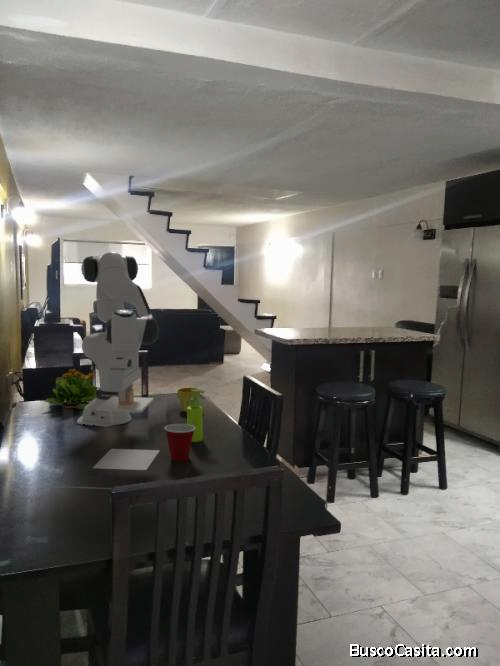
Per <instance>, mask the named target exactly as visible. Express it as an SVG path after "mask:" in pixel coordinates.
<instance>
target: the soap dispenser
mask: <svg viewBox="0 0 500 666" xmlns="http://www.w3.org/2000/svg"><path fill="white" fill-rule="evenodd" d="M198 389H199V388H197V389H194V390H191V392H193V397H192V398H191V399H190V406H189V407H187V412H186V416H187V417H186V419H187V420H186V423H187V424H188V425H193V426H195V427H196V429H195V431H194V434H193V437H192V442H191V443H199V442H203V440H204V439H203V437H204V436H203V433H204V432H203V431H204V429H203V426H204V425H203V423H204V422H203V420H204V419H203V418H204V417H203V414H204V413H203V411H204V410H203V408H204V407H203V406H202V405H200V397H199V398H198V397H197V392H200V394H204V393H205V392H206V390H203V389H199V390H198Z"/></svg>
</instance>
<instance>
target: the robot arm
mask: <svg viewBox="0 0 500 666" xmlns="http://www.w3.org/2000/svg"><path fill="white" fill-rule="evenodd" d="M80 271H81V274H82V277H83V279H84V280H85V281H87V282H89V283H96V291H95V292H96V293H95V294H96V297H95V298H96V311H97V312H96V315H97V318H98V320H100V321H101V322H103V323H105V324H104V327H105V331H103V332H102V331H101V332H95V333H91V334H88V335H86V336H85V337H84V338H83V339H82V343H81V351H82V353H83V354H84V356H86V357H87V358H88V359H90V360H91V361H92V362H93V363H94V364H95V366H96V367H97V370H98V375H99V388H98V390H97V391H96V392H95V395H96V396H97V397H96V398H95V399H94V400H92V401H89V404H88V405H86V406H85V407H84V408H83V409H82V410H83V411H82V415H81V416H80V417H78V418H77V420H76V423H77V425H83V424H85V425H86V426H93V425H95V427H105V428H108V427H109V428H110V427H112V426H117V425H122V424H123V425H124V424H126V423H129V422H130V421H132V417H131V412H112V411H97V410H96V408H98V407H99V406H100V405H102V404H103V403H104V402H106V401H107V400H108V399H110V398H111V397H112V396H114V397H118V392H119V395H120V401H125V400H126V399H127V398H126V397H127V395H126V393H125V391H126V389H133V387H134V383H135V382H136V381H137V380H139V378H140V366H139V365H140V363H139V362H140V361H139V358H140V357H139V352H140V351H139V350H140V349H141V345H144V346H145V345H146V346H151V345H153V343H155V342H156V341H157V340H158V338H159V337H160V336H159V335H160V329H159V325H158V321H157V320H156V318H155V316H154V315H153V313H152V311H151V308H150V306H149V303H148V301H147V299H146V297H145V296H146V295H145V294H144V292H143V290H142V288H141V286H139V285H138V284H136V283H135V282H134V280H135V279H136V278H137V276H138V272H139V265H138V262H137V259H136V258H135V257H134V256H130V255H127V254H126V255H122V254H120V253H118V252H115V251H109V252H106V253H103V255H97V256H96V255H95V256H93V255H90V256H86V257H85V258H84V259H83V261H82V264H81V268H80ZM124 303H128V304H129V305H132V306H133V307H135V310H136V312H135V311H133V310H130V309H125V304H124ZM136 313H137V314H136ZM137 315H138V317H137Z"/></svg>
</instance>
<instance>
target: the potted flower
mask: <svg viewBox="0 0 500 666" xmlns="http://www.w3.org/2000/svg"><path fill="white" fill-rule="evenodd" d="M94 377H95V373H93V372H89V373H88V374H87V375H85V374H83V373H82V372H81V371H78V370H76V369H75V368H73V369H68V372H65V373H64V374H62V376H58V377H56V379H54V380H55V388H53V389H52V392H53V394H54V395H55V396H56V398H55V397H50V398H46V399H45V400H44V402H45V403H48V404H56V405H61V406H63V407H65V408H64V409H66V408H76V409H77V410H84V408H85V406H86V405H88V404H89V403H90V402H91V401H92V400H94V399H95V398H96V397H97V396H96V395H95V392H96V391H97V390H98V389H99V388H98V387H97V386H95V385H94V384H92V383H93V379H94ZM63 407H62V408H63Z"/></svg>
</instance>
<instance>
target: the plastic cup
mask: <svg viewBox="0 0 500 666" xmlns="http://www.w3.org/2000/svg"><path fill="white" fill-rule="evenodd" d="M195 429H196V427H195V426H193V425H188V424H186V423H174V424H173V423H171V424H168V425H167V424H166V425H165V426H164V430H165V433H166V434H165V435H166V438H167V439H166V440H167V443H168V450H169V453H170V454H169V455H170V459H171V461H172V462H174V463H175V462H176V463H182V462H186V461H188V460H189V459H190V452H191V447H192V443H193V442H192V437H193V434H194V431H195Z"/></svg>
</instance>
